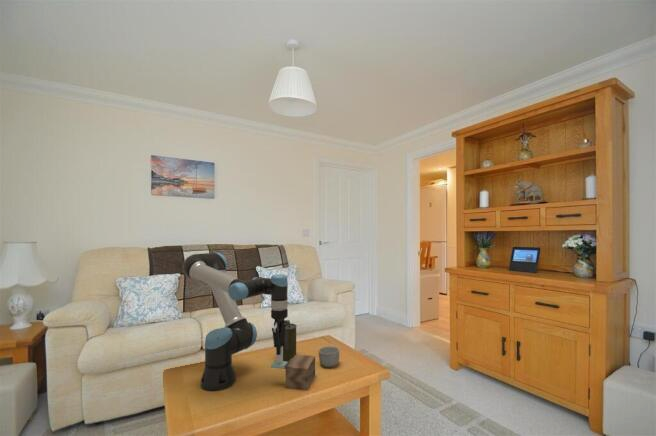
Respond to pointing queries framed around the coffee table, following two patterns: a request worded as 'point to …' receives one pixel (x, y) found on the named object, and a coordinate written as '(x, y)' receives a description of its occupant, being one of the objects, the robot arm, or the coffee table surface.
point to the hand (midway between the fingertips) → (279, 360)
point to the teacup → (329, 356)
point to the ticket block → (300, 372)
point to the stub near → (279, 364)
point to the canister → (289, 341)
